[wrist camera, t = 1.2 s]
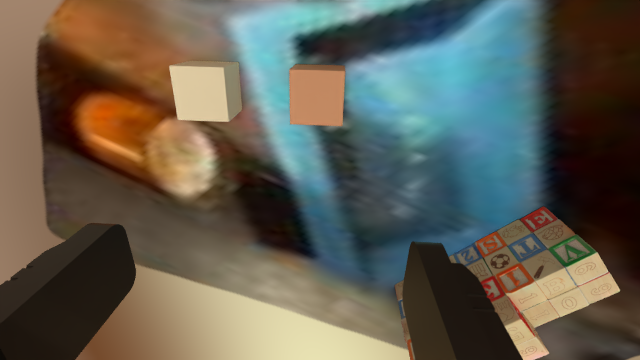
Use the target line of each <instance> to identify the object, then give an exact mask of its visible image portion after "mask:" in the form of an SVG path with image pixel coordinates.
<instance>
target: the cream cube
mask: <svg viewBox="0 0 640 360" xmlns="http://www.w3.org/2000/svg"><path fill="white" fill-rule="evenodd" d="M169 67H170V74H171V80H172V86H173V92H174V98H175V104H176V111H177V117H178V120H196V121H221V122H229V121H230V120H231V119H233V118H234V117H235V116H236V115H237V114H238V113H239V112H241V111H242V100H241V87H240V74H239V62H217V61H188V62H183V63H179V64H175V65H170V66H169Z"/></svg>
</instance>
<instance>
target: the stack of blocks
mask: <svg viewBox="0 0 640 360" xmlns="http://www.w3.org/2000/svg"><path fill="white" fill-rule="evenodd" d="M449 259H450V261H451V263H462V264H463V265H464V266H465V267H467V268H468V269H469V270H470V271H471V272H472V273H473V274H474V275H475V276H476V277H478V279H479V281H480V283H481V284H482V286H483V288H484V290H485V292H486V293H487V298H489V299H490V301H491V302H492V304H493V306H494V308H495V312H497V313H498V315H499V317H500V319H501V320H502V322H503V324H504V326H505V328H506V330H507V331H508V333H509V335H510V337H511V339H512V340H513V342H514V344H515V346H516V348H517V349H518V351H519V353H520V355H521V357H522V358H523V360H535V359H537V358H539V357H542V356H544V355H547V354H549V352H548V350H547V349H546V347H545V345H544V344H543V342H542V341H541V339H540V337H539V336H538V334H537V332H536V331H535V329H534V328H535V327H537V326H540V325H542V324H544V323H547V322H549V321H551V320H554V319H556V318H558V317H562V316H564V315H566V314H569V313H571V312H573V311H576V310H578V309H581V308H583V307H585V306H588V305H589V304H591V303H594V302H596V301H598V300H601V299H603V298H606V297H608V296H610V295H612V294H615V293H617V292H619V291H620V289H619V288H618V286H617V284H616V283H615V281H614V279H613V277H612V276H611V274H610V273H609V272H608V270H607V268H606V266H605V265H604V263H603V261H602V260H601V258H600V256H599V255H598V253H597V252H596V251H595V250H594V249H593V248H592V247H591V246H589V245H588V244H587V243H586V242H585V241H584V240H582V239H581V238H580V237H579V236H578V235H576V234H575V233H574V232H573V231H572V230H571V229H570V228H568V227H567V226H566V225H565V224H564V223H563V222H562V221H561V220H558V218H557V217H556V216H554V215H553V214H552V213H551V212H550V211H549V210H548V209H547V208H545V207H541V208H540V209H538V210H536V211H534V212H532V213H531V214H529V215H527V216H525V217H523V218H521V219H520V220H516V221H514V222H512V223H510V224H508V225H507V226H505V227H503V228H501V229H499V230H498V231H497V232H494V233H492V234H490V235H488V236H486V237H484V238H482V239H480V240H478V241H476V242H475V243H474V244H472V245H470V246H468V247H466V248H464V249H462V250H460V251H459V252H457V253H455V254H454V255H451V256H449ZM403 282H404V280H403V281H401V282H399V283H397V284H396V285H395V290H396V295H397V300H398V303H399V309H400V314H401V319H402V327H403V332H404V337H405V341H406V343H407V345H408V350H409V355H410V360H415V356H414V352H413V347H412V343H411V339H410V334H409V330H408V326H407V321H406V317H405V312H404V308H403V297H402V291H403Z"/></svg>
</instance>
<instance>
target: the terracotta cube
mask: <svg viewBox="0 0 640 360" xmlns="http://www.w3.org/2000/svg"><path fill="white" fill-rule="evenodd" d="M289 72H290V124H302V125H328V126H342V121H343V103H344V85H345V66H342V65H310V64H295V65H294V66H293V67H292V68H291V69H290V70H289Z"/></svg>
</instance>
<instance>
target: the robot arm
mask: <svg viewBox="0 0 640 360" xmlns="http://www.w3.org/2000/svg"><path fill="white" fill-rule="evenodd" d="M135 276H136V268H135V264H134V260H133V256H132V253H131V249H130V245H129V242H128V238H127V234H126V231H125V229H124V227H123V226H121V225H119V224H101V223H90V224H87V225H86V226H84V227H83V228H82V229H80V230H79V231H78V232H77V233H75V234H74V235H73V236H72V237H70V238H69V239H68V240H66V241H65V242H63V243H61V244H59V245H57V246H55V247H53V248H51V249H49V250H47V251H45V252H44V253H42V254H41V255H40V256H38V257H37V258H36V259H34V260H33V261H32V262H31V263H29V264H28V265H27V267H26V268H23V269H21V270H20V271H19V272H17V273H16V274H15V275H14V276H12V277H11V280H10V281H5V282H4V283H3V284H1V285H0V360H75V359H76V358H77V357H78V355H79V354H80V353H81V352H82V350H83V349H84V348H85V347H86V345H87V344H88V343H89V342H90V340H91V339H92V338H93V337H94V335H95V334H96V333H97V332H98V330H99V329H100V328H101V326H102V325H103V324H104V323H105V322H106V320H107V319H108V318H109V316H110V315H111V314H112V313H113V311H114V310H115V309H116V308H117V306H118V305H119V304H120V303H121V301H122V300H123V299H124V298H125V296H126V295H127V294H128V293H129V291H130V290H131V288H132V286H133V284H134V281H135ZM402 297H403V308H404V312H405V317H406V321H407V326H408V330H409V334H410V339H411V343H412V347H413V352H414V356H415V360H523V358H522V357H521V355H520V353H519V351H518V349H517V348H516V346H515V344H514V342H513V340H512V339H511V337H510V335H509V333H508V331H507V330H506V328H505V326H504V324H503V322H502V320H501V319H500V317H499V315H498V313H497V312H495V308H494V306H493V304H492V302H491V301H490V299H489V298H487V293H486V292H485V290H484V288H483V286H482V284H481V283H480V281H479V279H478V277H476V276H475V275H474V274H473V273H472V272H471V271H470V270H469V269H468V268H467V267H465V266H464V265H463V264H462V263H451V261H450V259H449V257H448V255H447V253H446V250H445V248H444V246H443V245H442V244H441V243H431V242H412V243H411V245H410V249H409V254H408V260H407V265H406V271H405V277H404V282H403V291H402Z"/></svg>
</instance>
